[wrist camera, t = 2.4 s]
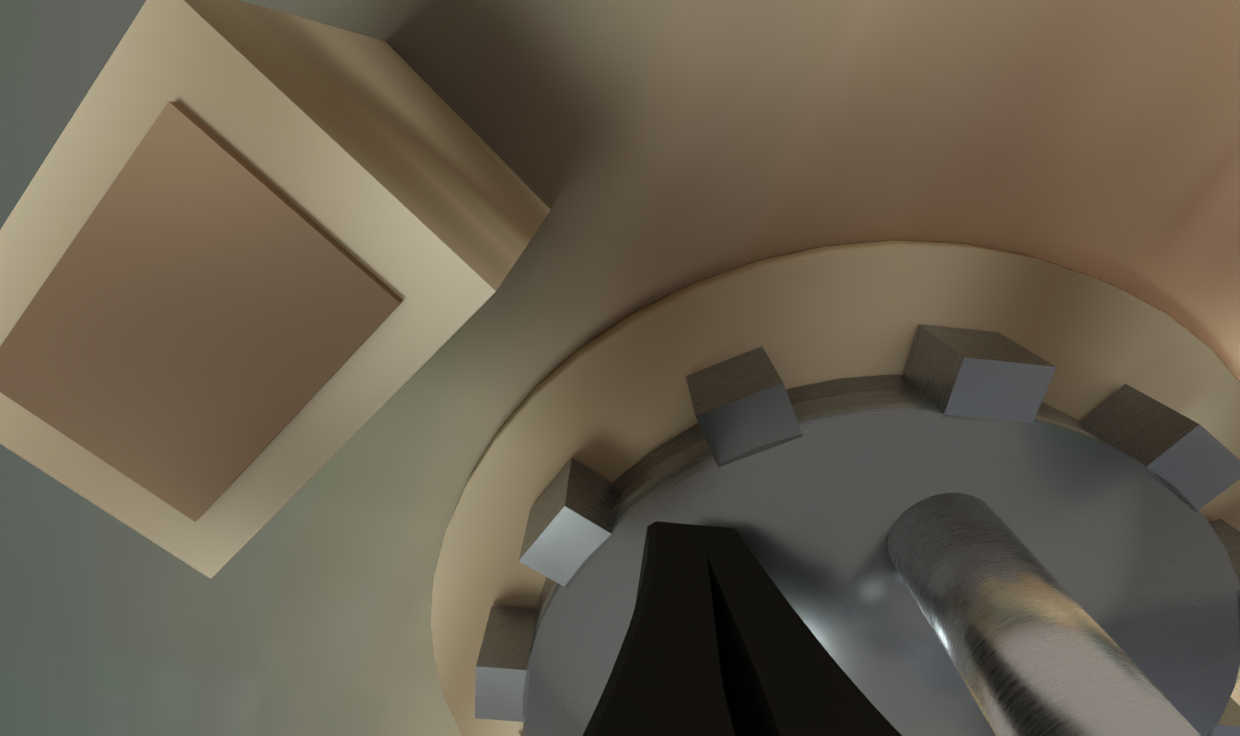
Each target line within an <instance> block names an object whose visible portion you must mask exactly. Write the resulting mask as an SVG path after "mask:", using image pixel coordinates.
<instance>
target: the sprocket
mask: <svg viewBox="0 0 1240 736" xmlns="http://www.w3.org/2000/svg"><path fill="white" fill-rule="evenodd" d="M1055 369H1056V366H1054V365H1053V364H1051V363H1049V362H1048V361H1046V360H1044V359H1043V358H1041V357H1039V356H1038V355H1036V354H1034V353H1032V352H1031V351H1029V350H1027V349H1026V348H1024V347H1022V346H1021V345H1019V344H1017V343H1016V342H1014V341H1012V340H1011V339H1009V338H1007V337H1006V336H1004V335H1002V334H1001V333H999V332H991V331H981V330H972V329H962V328H953V327H943V326H934V325H924V324H918V326H917V330H916V333H915V336H914V339H913V342H912V345H911V349H910V352H909V355H908V358H907V361H906V364H905V368H904V371H903V374H902V375H892V374H891V375H879V376H866V377H854V378H841V379H835V380H830V381H825V382H820V383H815V384H810V385H805V386H800V387H795V388H790V389H786V388H785V386H784V383H783V381H782V379H781V378H780V376H779V374H778V373H777V371H776V369H775V368H774V366H773V364H772V362H771V361H770V359H769V357H768V356H767V354H766V352H765V351H764V349H763V347H762V346H761V347H759V348H756V349H754V350H751V351H748V352H746V353H743V354H741V355H738V356H736V357H733V358H731V359H728V360H726V361H723V362H721V363H718V364H716V365H713V366H711V367H708V368H706V369H703V370H700V371H698V372H695V373H693V374H690V375H688V376H686V379H687V384H688V388H689V392H690V396H691V400H692V404H693V408H694V413H695V416H696V419H697V421H698V423H697V424H695V425H694V426H692V427H690V428H689V429H687V430H685V431H684V432H682V433H680V434H679V435H677V436H675V437H674V438H672V439H670V440H669V441H667V442H665V443H664V444H662V445H660V446H659V447H657V448H655V449H654V450H653V451H651V452H650V453H649V454H647V455H646V456H645V457H644V458H642V459H641V460H640V461H638V462H637V463H636V464H635V465H633V466H632V467H631V468H630V469H628V470H627V471H626V472H624V473H623V474H622V475H621V476H619V477H618V478H617V479H616V480H615V481H614V482H613V483H612V482H610V481H609V480H607V479H605V478H604V477H602V476H600V475H599V474H597V473H596V472H594V471H592V470H591V469H589V468H587V467H586V466H584V465H583V464H581V463H579V462H578V461H576V460H575V459H573V458H571V459H570V460H569V461H568V463H567V464H566V465H565V466H564V467H563V469H562V470H561V471H560V472H559V474H558V475H557V476H556V477H555V479H554V480H553V481H552V482H551V483H550V485H549V486H548V487H547V488H546V490H545V491H544V492H543V493H542V495H541V496H540V497H539V498H538V499H537V501H536V502H535V503H534V504H533V506H532V507H531V508H530V512H529V517H528V521H527V526H526V530H525V535H524V539H523V543H522V548H521V552H520V557H519V562H521V563H523V564H524V565H526V566H528V567H530V568H532V569H533V570H535V571H537V572H539V573H541V574H542V575H544V576H546V577H547V578H546V581H545V584H544V587H543V590H542V592H541V595H540V598H539V601H538V606H537V610H535V609H523V608H511V607H499V606H491V610H490V614H489V618H488V622H487V625H486V629H485V633H484V637H483V641H482V645H481V649H480V652H479V656H478V660H477V664H476V685H475V718H477V719H490V720H504V721H517V722H523V729H524V733H525V734H524V735H521V736H583V734H584V731H585V729H586V727H587V725H588V723H589V721H590V719H591V717H592V715H593V713H594V711H595V708H596V706H597V704H598V702H599V700H600V697H601V695H602V693H603V691H604V688H605V686H606V684H607V681H608V679H609V677H610V674H611V672H612V669H613V667H614V664H615V662H616V659H617V656H618V654H619V651H620V649H621V646H622V643H623V641H624V638H625V636H626V633H627V630H628V628H629V625H630V622H631V619H632V615H633V612H634V609H635V604H636V597H637V590H638V584H639V577H640V571H641V564H642V558H643V551H644V545H645V538H646V531H647V527H648V526H649V525H651V524H652V523H654V522H655V521H659V522H670V523H681V524H692V525H703V526H715V527H726V528H735V529H736V530H737V532H738V533H739V534H740V536H741V537H742V538H743V540H744V541H745V542H746V544H747V545H748V547H749V548H750V550H751V551H752V552H753V554H754V555H755V557H756V558H757V559H758V561H759V562H760V564H761V565H762V566H763V568H764V569H765V571H766V572H767V573H768V575H769V576H770V578H771V579H772V580H773V582H774V583H775V584H776V586H777V587H778V588H779V590H780V591H781V593H782V594H783V595H784V597H785V598H786V599H787V601H788V602H789V603H790V605H791V606H792V607H793V609H794V610H795V611H796V613H797V614H798V615H799V616H800V618H801V619H802V620H803V621H804V623H805V624H806V625H807V627H808V628H809V629H810V630H811V632H812V633H813V634H814V635H815V637H816V638H817V639H818V641H819V642H820V643H821V644H822V646H823V647H824V648H825V649H826V651H827V652H828V653H829V654H830V655H831V657H832V658H833V659H834V660H835V661H836V663H837V664H838V665H839V666H840V668H841V669H842V670H843V671H844V672H845V673H846V674H847V676H848V677H849V678H850V679H851V680H852V681H853V683H854V684H855V685H856V686H857V687H858V688H859V689H860V691H861V692H862V693H863V694H864V695H865V696H866V697H867V699H868V700H869V701H870V702H871V703H872V704H873V705H874V706H875V707H876V709H877V710H878V711H879V712H880V713H881V714H882V715H883V716H884V717H885V718H886V719H887V720H888V721H889V722H890V724H891V725H892V726H893V727H894V728H895V729H896V730H897V731H898V732H899V733H900V734H901V735H902V736H1240V706H1239V705H1238V704H1237V703H1236V702H1235V701H1234V700H1233V699H1232V698H1231V697H1230V696H1231V694H1232V691H1233V689H1234V687H1235V683H1236V679H1237V675H1238V671H1239V667H1240V531H1238V530H1237V529H1235V528H1234V527H1232V526H1231V525H1229V524H1228V523H1227V522H1225V521H1224V520H1222V519H1217V520H1214V521H1211V522H1208V521H1207V519H1206V518H1205V516H1204V515H1203V514H1202V513H1201V512H1200V511H1199V509H1201V508H1202V507H1203V506H1205V505H1206V504H1207V503H1209V502H1210V501H1211V500H1213V499H1214V498H1215V497H1217V496H1218V495H1219V494H1221V493H1222V492H1223V491H1225V490H1226V489H1227V488H1229V487H1230V486H1231V485H1233V484H1234V483H1235V482H1237V481H1238V480H1239V479H1240V460H1239V459H1238V458H1237V457H1236V456H1235V455H1234V454H1233V453H1232V452H1230V451H1229V450H1228V449H1227V448H1226V447H1225V446H1224V445H1223V444H1221V443H1220V442H1219V441H1218V440H1217V439H1216V438H1215V437H1214V436H1212V435H1211V434H1210V433H1209V432H1208V431H1207V430H1206V429H1205V428H1203V427H1202V426H1201V425H1200V424H1198V423H1197V422H1195V421H1193V420H1191V419H1189V418H1187V417H1186V416H1184V415H1182V414H1180V413H1178V412H1177V411H1175V410H1173V409H1171V408H1169V407H1167V406H1166V405H1164V404H1162V403H1160V402H1158V401H1156V400H1155V399H1153V398H1151V397H1149V396H1147V395H1145V394H1144V393H1142V392H1140V391H1138V390H1136V389H1134V388H1133V387H1131V386H1129V385H1127V384H1124V385H1123V386H1122V387H1121V388H1119V389H1118V390H1117V391H1116V392H1115V393H1114V394H1113V395H1111V396H1110V397H1109V398H1108V399H1107V400H1106V401H1104V402H1103V403H1102V404H1101V405H1100V406H1099V407H1097V408H1096V409H1095V410H1094V411H1093V412H1092V413H1090V414H1089V415H1088V416H1087V417H1086V418H1085V419H1083V420H1082V421H1081V422H1080V421H1079V420H1077V419H1076V418H1074V417H1073V416H1071V415H1068V414H1066V413H1064V412H1062V411H1060V410H1058V409H1056V408H1054V407H1052V406H1050V405H1048V404H1045V403H1043V402H1042V400H1043V398H1044V395H1045V393H1046V391H1047V388H1048V386H1049V384H1050V381H1051V379H1052V376H1053V374H1054V372H1055Z"/></svg>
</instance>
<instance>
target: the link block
mask: <svg viewBox="0 0 1240 736" xmlns="http://www.w3.org/2000/svg"><path fill="white" fill-rule="evenodd" d="M550 211H551V209H550V208H549V207H548V206H547V205H546V204H545V203H544V202H543V201H542V200H541V199H540V198H539V197H538V196H537V195H536V194H535V193H534V192H533V191H532V190H531V189H530V188H529V187H528V186H527V185H526V184H525V183H524V182H523V181H522V180H521V179H520V178H519V177H518V176H517V175H516V174H515V173H514V172H513V171H512V170H511V169H510V168H509V167H508V166H507V165H506V164H505V163H504V162H503V161H502V159H501V158H500V157H499V156H498V155H497V154H496V153H495V152H494V151H493V150H492V149H491V148H490V147H489V146H488V145H487V144H486V143H485V142H484V141H483V140H482V139H481V138H480V137H479V136H478V135H477V134H476V133H475V132H474V131H473V130H472V129H471V128H470V127H469V126H468V125H467V124H466V123H465V122H464V121H463V120H462V119H461V118H460V117H459V116H458V115H457V114H456V113H455V112H454V111H453V110H452V109H451V108H450V107H449V106H448V105H447V104H446V103H445V102H444V101H443V99H442V98H441V97H440V96H439V95H438V94H437V93H436V92H435V91H434V90H433V89H432V88H431V87H430V86H429V85H428V84H427V83H426V82H425V81H424V80H423V79H422V78H421V77H420V76H419V75H418V74H417V73H416V72H415V71H414V70H413V69H412V68H411V67H410V66H409V65H408V64H407V63H406V62H405V61H404V60H403V59H402V58H401V57H400V56H399V55H398V54H397V53H396V52H395V51H394V50H393V49H392V48H391V47H390V46H389V45H388V44H387V43H386V42H385V41H383V40H379V39H376V38H372V37H369V36H365V35H361V34H358V33H354V32H351V31H347V30H343V29H340V28H336V27H333V26H329V25H325V24H322V23H318V22H315V21H311V20H307V19H304V18H300V17H297V16H293V15H289V14H286V13H282V12H279V11H275V10H271V9H268V8H264V7H261V6H257V5H253V4H250V3H246V2H243V1H239V0H147V1H146V2H145V4H144V5H143V7H142V8H141V10H140V12H139V13H138V15H137V16H136V18H135V19H134V21H133V23H132V24H131V26H130V27H129V29H128V30H127V32H126V34H125V35H124V37H123V38H122V40H121V41H120V43H119V45H118V46H117V48H116V49H115V51H114V52H113V54H112V56H111V57H110V59H109V60H108V62H107V63H106V65H105V67H104V68H103V70H102V71H101V73H100V74H99V76H98V78H97V79H96V81H95V82H94V84H93V85H92V87H91V89H90V90H89V92H88V93H87V95H86V96H85V98H84V100H83V101H82V103H81V104H80V106H79V107H78V109H77V111H76V112H75V114H74V115H73V117H72V118H71V120H70V122H69V123H68V125H67V126H66V128H65V129H64V131H63V133H62V134H61V136H60V137H59V139H58V140H57V142H56V144H55V145H54V147H53V148H52V150H51V151H50V153H49V154H48V156H47V158H46V159H45V161H44V162H43V164H42V165H41V167H40V169H39V170H38V172H37V173H36V175H35V176H34V178H33V180H32V181H31V183H30V184H29V186H28V187H27V189H26V191H25V192H24V194H23V195H22V197H21V198H20V200H19V202H18V203H17V205H16V206H15V208H14V209H13V211H12V213H11V214H10V216H9V217H8V219H7V220H6V222H5V224H4V225H3V227H2V228H1V230H0V444H2V445H3V446H5V447H6V448H8V449H9V450H11V451H13V452H14V453H16V454H17V455H19V456H20V457H22V458H23V459H25V460H27V461H28V462H30V463H31V464H33V465H34V466H36V467H37V468H39V469H41V470H42V471H44V472H45V473H47V474H48V475H50V476H51V477H53V478H55V479H56V480H58V481H59V482H61V483H62V484H64V485H65V486H67V487H69V488H70V489H72V490H73V491H75V492H76V493H78V494H79V495H81V496H83V497H84V498H86V499H87V500H89V501H90V502H92V503H93V504H95V505H97V506H98V507H100V508H101V509H103V510H104V511H106V512H107V513H109V514H111V515H112V516H114V517H115V518H117V519H118V520H120V521H121V522H123V523H125V524H126V525H128V526H129V527H131V528H132V529H134V530H136V531H137V532H139V533H140V534H142V535H143V536H145V537H146V538H148V539H150V540H151V541H153V542H154V543H156V544H157V545H159V546H160V547H162V548H164V549H165V550H167V551H168V552H170V553H171V554H173V555H174V556H176V557H178V558H179V559H181V560H182V561H184V562H185V563H187V564H188V565H190V566H192V567H193V568H195V569H196V570H198V571H199V572H201V573H202V574H204V575H206V576H207V577H209V578H210V579H211V578H212V577H213V576H214V575H215V574H216V573H217V572H218V571H219V570H220V569H221V568H222V567H223V566H224V565H225V564H226V563H227V562H228V561H229V560H230V559H231V558H232V557H233V556H234V555H235V554H236V553H237V552H238V551H239V550H240V549H241V548H242V547H243V546H244V545H245V544H246V543H247V542H248V541H249V540H250V539H251V538H252V537H253V536H254V535H255V534H256V533H257V532H258V531H259V530H260V529H261V528H262V527H263V526H264V525H265V524H266V523H267V522H268V521H269V520H270V519H271V518H272V517H273V515H274V514H275V513H276V512H277V511H278V510H279V509H280V508H281V507H282V506H283V505H284V504H285V503H286V502H287V501H288V500H289V499H290V498H291V497H292V496H293V495H294V494H295V493H296V492H297V491H298V490H299V489H300V488H301V487H302V486H303V485H304V484H305V483H306V482H307V481H308V480H309V479H310V478H311V477H312V476H313V475H314V474H315V473H316V472H317V471H318V470H319V469H320V468H321V467H322V466H323V465H324V464H325V463H326V462H327V461H328V460H329V459H330V458H331V457H332V456H333V455H334V454H335V453H336V452H337V451H338V450H339V449H340V448H341V447H342V446H343V445H344V444H345V443H346V442H347V441H348V440H349V439H350V438H351V437H352V436H353V435H354V434H355V433H356V432H357V431H358V430H359V429H360V428H361V427H362V426H363V425H364V424H365V423H366V422H367V421H368V420H369V419H370V418H371V417H372V416H373V415H374V414H375V413H376V412H377V411H378V410H379V409H380V408H381V407H382V406H383V405H384V404H385V403H386V402H387V401H388V400H389V399H390V398H391V397H392V396H393V395H394V394H395V393H396V392H397V391H398V390H399V389H400V388H401V387H402V386H403V385H404V384H405V383H406V382H407V381H408V379H409V378H410V377H411V376H412V375H413V374H414V373H415V372H416V371H417V370H418V369H419V368H420V367H421V366H422V365H423V364H424V363H425V362H426V361H427V360H428V359H429V358H430V357H431V356H432V355H433V354H434V353H435V352H436V351H437V350H438V349H439V348H440V347H441V346H442V345H443V344H444V343H445V342H446V341H447V340H448V339H449V338H450V337H451V336H452V335H453V334H454V333H455V332H456V331H457V330H458V329H459V328H460V327H461V326H462V325H463V324H464V323H465V322H466V321H467V320H468V319H469V318H470V317H471V316H472V315H473V314H474V313H475V312H476V311H477V310H478V309H479V308H480V307H481V306H482V305H483V304H484V303H485V302H486V301H487V300H488V299H489V298H490V297H491V296H492V295H493V294H494V293H495V292H496V291H497V289H498V288H499V286H500V285H501V283H502V282H503V280H504V279H505V277H506V276H507V274H508V273H509V271H510V270H511V268H512V267H513V265H514V264H515V262H516V261H517V260H518V258H519V257H520V255H521V254H522V252H523V251H524V249H525V248H526V246H527V245H528V243H529V242H530V240H531V239H532V237H533V236H534V234H535V233H536V231H537V230H538V228H539V227H540V226H541V224H542V223H543V221H544V220H545V218H546V217H547V215H548V214H549V212H550Z"/></svg>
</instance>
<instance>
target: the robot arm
mask: <svg viewBox="0 0 1240 736" xmlns="http://www.w3.org/2000/svg"><path fill="white" fill-rule="evenodd" d="M583 736H902V735H901V734H900V733H899V732H898V731H897V730H896V729H895V728H894V727H893V726H892V725H891V724H890V722H889V721H888V720H887V719H886V718H885V717H884V716H883V715H882V714H881V713H880V712H879V711H878V710H877V709H876V707H875V706H874V705H873V704H872V703H871V702H870V701H869V700H868V699H867V697H866V696H865V695H864V694H863V693H862V692H861V691H860V689H859V688H858V687H857V686H856V685H855V684H854V683H853V681H852V680H851V679H850V678H849V677H848V676H847V674H846V673H845V672H844V671H843V670H842V669H841V668H840V666H839V665H838V664H837V663H836V661H835V660H834V659H833V658H832V657H831V655H830V654H829V653H828V652H827V651H826V649H825V648H824V647H823V646H822V644H821V643H820V642H819V641H818V639H817V638H816V637H815V635H814V634H813V633H812V632H811V630H810V629H809V628H808V627H807V625H806V624H805V623H804V621H803V620H802V619H801V618H800V616H799V615H798V614H797V613H796V611H795V610H794V609H793V607H792V606H791V605H790V603H789V602H788V601H787V599H786V598H785V597H784V595H783V594H782V593H781V591H780V590H779V588H778V587H777V586H776V584H775V583H774V582H773V580H772V579H771V578H770V576H769V575H768V573H767V572H766V571H765V569H764V568H763V566H762V565H761V564H760V562H759V561H758V559H757V558H756V557H755V555H754V554H753V552H752V551H751V550H750V548H749V547H748V545H747V544H746V542H745V541H744V540H743V538H742V537H741V536H740V534H739V533H738V532H737V530H736V529H735V528H726V527H715V526H703V525H692V524H681V523H670V522H659V521H655V522H654V523H652V524H651V525H649V526H648V527H647V531H646V538H645V545H644V551H643V558H642V564H641V571H640V577H639V584H638V590H637V597H636V604H635V609H634V612H633V615H632V619H631V622H630V625H629V628H628V630H627V633H626V636H625V638H624V641H623V643H622V646H621V649H620V651H619V654H618V656H617V659H616V662H615V664H614V667H613V669H612V672H611V674H610V677H609V679H608V681H607V684H606V686H605V688H604V691H603V693H602V695H601V697H600V700H599V702H598V704H597V706H596V708H595V711H594V713H593V715H592V717H591V719H590V721H589V723H588V725H587V727H586V729H585V731H584V734H583Z"/></svg>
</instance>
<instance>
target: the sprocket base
mask: <svg viewBox="0 0 1240 736" xmlns="http://www.w3.org/2000/svg"><path fill="white" fill-rule="evenodd" d="M918 324H924V325H934V326H943V327H953V328H962V329H972V330H981V331H991V332H999V333H1001V334H1002V335H1004V336H1006V337H1007V338H1009V339H1011V340H1012V341H1014V342H1016V343H1017V344H1019V345H1021V346H1022V347H1024V348H1026V349H1027V350H1029V351H1031V352H1032V353H1034V354H1036V355H1038V356H1039V357H1041V358H1043V359H1044V360H1046V361H1048V362H1049V363H1051V364H1053V365H1054V366H1056V369H1055V372H1054V374H1053V376H1052V379H1051V381H1050V384H1049V386H1048V388H1047V391H1046V393H1045V395H1044V398H1043V400H1042V402H1043V403H1045V404H1048V405H1050V406H1052V407H1054V408H1056V409H1058V410H1060V411H1062V412H1064V413H1066V414H1068V415H1071V416H1073V417H1074V418H1076V419H1077V420H1079V421H1080V422H1081V421H1082V420H1083V419H1085V418H1086V417H1087V416H1088V415H1089V414H1090V413H1092V412H1093V411H1094V410H1095V409H1096V408H1097V407H1099V406H1100V405H1101V404H1102V403H1103V402H1104V401H1106V400H1107V399H1108V398H1109V397H1110V396H1111V395H1113V394H1114V393H1115V392H1116V391H1117V390H1118V389H1119V388H1121V387H1122V386H1123V385H1124V384H1127V385H1129V386H1131V387H1133V388H1134V389H1136V390H1138V391H1140V392H1142V393H1144V394H1145V395H1147V396H1149V397H1151V398H1153V399H1155V400H1156V401H1158V402H1160V403H1162V404H1164V405H1166V406H1167V407H1169V408H1171V409H1173V410H1175V411H1177V412H1178V413H1180V414H1182V415H1184V416H1186V417H1187V418H1189V419H1191V420H1193V421H1195V422H1197V423H1198V424H1200V425H1201V426H1202V427H1203V428H1205V429H1206V430H1207V431H1208V432H1209V433H1210V434H1211V435H1212V436H1214V437H1215V438H1216V439H1217V440H1218V441H1219V442H1220V443H1221V444H1223V445H1224V446H1225V447H1226V448H1227V449H1228V450H1229V451H1230V452H1232V453H1233V454H1234V455H1235V456H1236V457H1237V458H1238V459H1239V460H1240V382H1239V380H1238V379H1237V378H1236V377H1235V376H1234V375H1233V374H1232V372H1231V371H1230V370H1229V369H1228V368H1227V367H1226V366H1225V364H1224V363H1223V362H1222V361H1221V360H1220V359H1219V358H1218V356H1217V355H1216V354H1215V353H1214V352H1213V351H1212V350H1211V348H1210V347H1208V346H1207V345H1206V344H1204V343H1203V342H1202V341H1201V340H1199V339H1198V338H1197V337H1195V336H1194V335H1193V334H1192V333H1190V332H1189V331H1188V330H1187V329H1185V328H1184V327H1183V326H1181V325H1180V324H1179V323H1178V322H1176V321H1175V320H1174V319H1172V318H1171V317H1170V316H1169V315H1167V314H1166V313H1165V312H1163V311H1161V310H1159V309H1157V308H1155V307H1153V306H1151V305H1149V304H1148V303H1146V302H1144V301H1142V300H1140V299H1138V298H1136V297H1134V296H1132V295H1131V294H1129V293H1127V292H1125V291H1123V290H1121V289H1119V288H1117V287H1115V286H1114V285H1112V284H1109V283H1106V282H1104V281H1101V280H1098V279H1095V278H1093V277H1090V276H1087V275H1084V274H1081V273H1078V272H1075V271H1072V270H1069V269H1066V268H1063V267H1061V266H1058V265H1055V264H1052V263H1049V262H1046V261H1043V260H1040V259H1037V258H1034V257H1031V256H1028V255H1024V254H1018V253H1013V252H1007V251H1002V250H996V249H991V248H985V247H980V246H974V245H969V244H963V243H943V242H920V241H897V240H893V241H882V242H870V243H859V244H847V245H836V246H825V247H820V248H815V249H811V250H806V251H801V252H797V253H792V254H788V255H783V256H778V257H774V258H769V259H764V260H760V261H756V262H753V263H750V264H747V265H744V266H741V267H739V268H736V269H733V270H730V271H727V272H724V273H721V274H719V275H716V276H713V277H710V278H707V279H704V280H701V281H699V282H696V283H693V284H691V285H689V286H687V287H684V288H682V289H680V290H678V291H676V292H674V293H672V294H670V295H668V296H666V297H664V298H662V299H660V300H658V301H656V302H654V303H652V304H650V305H648V306H646V307H644V308H642V309H640V310H638V311H636V312H634V313H632V314H631V315H629V316H628V317H626V318H625V319H623V320H622V321H620V322H619V323H617V324H616V325H614V326H613V327H611V328H610V329H608V330H607V331H605V332H604V333H602V334H601V335H599V336H598V337H596V338H595V339H593V340H592V341H590V342H589V343H587V344H586V345H584V346H583V347H581V348H580V349H579V350H577V351H576V352H575V353H574V354H573V355H572V356H571V357H569V358H568V359H567V360H566V361H565V362H564V363H563V364H561V365H560V366H559V367H558V368H557V369H556V370H555V371H553V372H552V373H551V374H550V375H549V376H548V377H547V378H545V379H544V380H543V381H542V382H541V383H540V384H539V385H537V386H536V387H535V388H534V389H533V391H532V392H531V393H530V394H529V395H528V396H527V398H526V399H525V400H524V401H523V402H522V403H521V404H520V406H519V407H518V408H517V409H516V410H515V411H514V413H513V414H512V415H511V416H510V417H509V418H508V420H507V421H506V422H505V423H504V424H503V425H502V427H501V428H500V429H499V430H498V432H497V433H496V435H495V436H494V438H493V440H492V441H491V443H490V444H489V446H488V447H487V449H486V451H485V452H484V454H483V455H482V457H481V458H480V460H479V462H478V463H477V465H476V466H475V468H474V470H473V471H472V473H471V475H470V477H469V479H468V482H467V484H466V486H465V489H464V491H463V493H462V496H461V498H460V500H459V502H458V505H457V507H456V509H455V512H454V514H453V516H452V519H451V521H450V524H449V526H448V528H447V531H446V533H445V536H444V540H443V544H442V548H441V552H440V556H439V560H438V564H437V568H436V572H435V576H434V582H433V596H432V610H431V631H432V640H433V650H434V660H435V665H436V669H437V672H438V676H439V679H440V683H441V686H442V690H443V693H444V697H445V700H446V702H447V704H448V707H449V709H450V711H451V713H452V715H453V717H454V719H455V721H456V723H457V726H458V728H459V730H460V732H461V734H462V736H521V735H524V734H525V733H524V729H523V722H517V721H504V720H490V719H477V718H475V685H476V664H477V660H478V656H479V652H480V649H481V645H482V641H483V637H484V633H485V629H486V625H487V622H488V618H489V614H490V610H491V606H499V607H511V608H523V609H535V610H537V606H538V601H539V598H540V595H541V592H542V590H543V587H544V584H545V581H546V578H547V577H546V576H544V575H542V574H541V573H539V572H537V571H535V570H533V569H532V568H530V567H528V566H526V565H524V564H523V563H521V562H519V557H520V552H521V548H522V543H523V539H524V535H525V530H526V526H527V521H528V517H529V512H530V508H531V507H532V506H533V504H534V503H535V502H536V501H537V499H538V498H539V497H540V496H541V495H542V493H543V492H544V491H545V490H546V488H547V487H548V486H549V485H550V483H551V482H552V481H553V480H554V479H555V477H556V476H557V475H558V474H559V472H560V471H561V470H562V469H563V467H564V466H565V465H566V464H567V463H568V461H569V460H570V459H571V458H573V459H575V460H576V461H578V462H579V463H581V464H583V465H584V466H586V467H587V468H589V469H591V470H592V471H594V472H596V473H597V474H599V475H600V476H602V477H604V478H605V479H607V480H609V481H610V482H612V483H613V482H614V481H615V480H616V479H617V478H618V477H619V476H621V475H622V474H623V473H624V472H626V471H627V470H628V469H630V468H631V467H632V466H633V465H635V464H636V463H637V462H638V461H640V460H641V459H642V458H644V457H645V456H646V455H647V454H649V453H650V452H651V451H653V450H654V449H655V448H657V447H659V446H660V445H662V444H664V443H665V442H667V441H669V440H670V439H672V438H674V437H675V436H677V435H679V434H680V433H682V432H684V431H685V430H687V429H689V428H690V427H692V426H694V425H695V424H697V423H698V421H697V419H696V416H695V413H694V408H693V404H692V400H691V396H690V392H689V388H688V384H687V379H686V376H688V375H690V374H693V373H695V372H698V371H700V370H703V369H706V368H708V367H711V366H713V365H716V364H718V363H721V362H723V361H726V360H728V359H731V358H733V357H736V356H738V355H741V354H743V353H746V352H748V351H751V350H754V349H756V348H759V347H761V346H762V347H763V349H764V351H765V352H766V354H767V356H768V357H769V359H770V361H771V362H772V364H773V366H774V368H775V369H776V371H777V373H778V374H779V376H780V378H781V379H782V381H783V383H784V386H785V388H786V389H790V388H795V387H800V386H805V385H810V384H815V383H820V382H825V381H830V380H835V379H841V378H854V377H866V376H879V375H891V374H892V375H902V374H903V371H904V368H905V364H906V361H907V358H908V355H909V352H910V349H911V345H912V342H913V339H914V336H915V333H916V330H917V326H918ZM1199 511H1200V512H1201V513H1202V514H1203V515H1204V516H1205V518H1206V519H1207V521H1208V522H1211V521H1214V520H1217V519H1222V520H1224V521H1225V522H1227V523H1228V524H1229V525H1231V526H1232V527H1234V528H1235V529H1237V530H1238V531H1240V479H1239V480H1238V481H1237V482H1235V483H1234V484H1233V485H1231V486H1230V487H1229V488H1227V489H1226V490H1225V491H1223V492H1222V493H1221V494H1219V495H1218V496H1217V497H1215V498H1214V499H1213V500H1211V501H1210V502H1209V503H1207V504H1206V505H1205V506H1203V507H1202V508H1201V509H1199ZM1239 678H1240V667H1239V671H1238V675H1237V679H1236V683H1237V681H1238V679H1239ZM1236 683H1235V684H1236Z"/></svg>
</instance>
